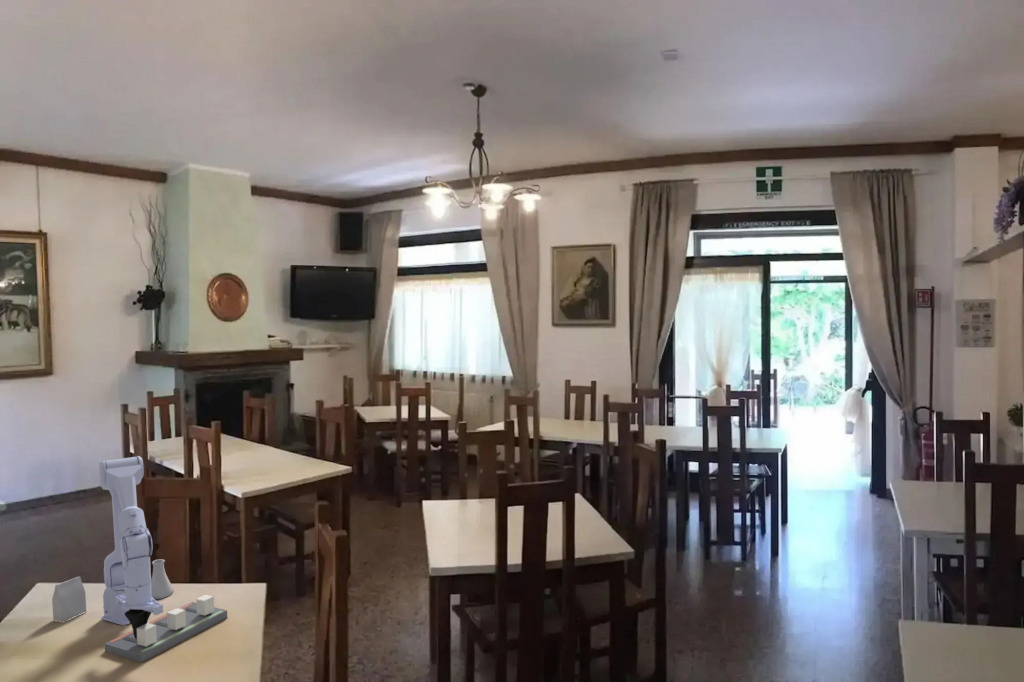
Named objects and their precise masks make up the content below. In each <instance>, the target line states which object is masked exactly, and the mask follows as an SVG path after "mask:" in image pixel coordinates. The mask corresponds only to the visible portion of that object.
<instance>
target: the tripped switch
mask: <svg viewBox="0 0 1024 682" xmlns="http://www.w3.org/2000/svg"><path fill="white" fill-rule="evenodd" d="M156 641H157V635H156V625H153V624H150V623H149V622H147V623H146V624H144V625H142V626H140V627H138V628H137V644H139V645H142V646H145V647H146V646H148V645H150V644H152V643H154V642H156Z"/></svg>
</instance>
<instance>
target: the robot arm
mask: <svg viewBox="0 0 1024 682" xmlns="http://www.w3.org/2000/svg"><path fill="white" fill-rule="evenodd" d="M144 470H145V469H144V460H143V458H142V457H141V456H140V455H136V456H132V457H123V458H118V459H117V458H116V459H115V458H114V459H108V460H101V462H99V480H100V481H99V482H100V487H101V489H102V490H107V491H109V493H110V495H111V504H112V505H111V507H112V520H113V521H112V522H113V523H112V524H113V535H114V536H113V537H114V550H113V551H112V552H111V553H109V554H108V555H107V556H106V557H105V558H104V561H103V566H104V567H103V579H104V580H103V581H104V585H105V587H106V588H105V589H104V591H103V595H102V598H103V599H102V600H103V601H102V602H103V616H101V617H100V619H101V620H102V621H106V622H110V623H114V624H118V625H121V626H126V625H128V624H130V625H131V628H132V630H133V633H134V637H135V639H137V628H138V627H140V626H142V625H144V624H146V623H148V620H149V618H150V617H151V615H152V613H153V616H158V615H160V614H162V613H163V612H164V605H163V604H162V603H161V602H160V603H159V601H157V599H154V598H152V591H151V578H152V574H151V572H152V571H151V556H152V554H153V538H152V535H151V532H150V531H149V528H147V523H146V518H145V513H144V510H143V509H142V508H140V507H138V499H137V485H140V484H141V482H142V479H143V478H144V474H145V473H144Z"/></svg>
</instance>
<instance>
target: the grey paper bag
mask: <svg viewBox="0 0 1024 682" xmlns="http://www.w3.org/2000/svg"><path fill="white" fill-rule="evenodd" d="M51 600H52V601H51V603H52V605H51V606H52V620H53V619H54V620H58V621H61V622H63V621H66V620H68V619H70V618H72V617H74V616H77V615H79V614H81V613H83V612H86V613H87V600H86V591H85V587H84V584H83V582H82V578H81V576H77V577H74V578H71V579H69V580H66V581H63V582H59V583H58V584H56V585H54V592H53V594H52V599H51ZM68 621H69V620H68ZM66 622H67V621H66Z"/></svg>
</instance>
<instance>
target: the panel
mask: <svg viewBox="0 0 1024 682" xmlns="http://www.w3.org/2000/svg"><path fill="white" fill-rule="evenodd" d="M179 609H183V610H185V613H186V625H185V626H183V627H181V628H179V629H177V630H173V629H170V628H168V622H167V613H166V614H164V615H162V616H160V617H158V618H156V619H154V620H152V621H149V622H148V623H150V624H153V625H156V635H157V641H156V642H154V643H152V644H150V645H148V646H146V647H145V646H142V645H139V644H137V639H135V637H134V633H133V629H132V630H131V631H128V632H126V633H124V634H122V635H120V636H118V637H116V638H113V639H111V640H110V641H107V642H105V643H104V652H105V653H108V652H109V654H111V653H112V654H111V655H114V654H115V656H117V655H118V656H117V657H121V658H125V659H127V658H128V660H130V659H131V660H132V661H133V662H138V663H140V662H142V663H144V662H145V660H146V661H147V659H148V658H149V659H151V658H153V657H155V656H157V655H159V654H161V653H163V652H164V650H165V651H166V649H167V650H169V649H170V648H172V647H174V646H176V645H177V644H180V643H182V642H184V641H185V639H186V640H188V639H189V638H191V637H194V636H195V635H197V634H199V633H201V632H203V631H204V629H205V630H206V629H208V627H209V628H210V627H212V626H215V625H216V624H218V623H220V622H222V621H224V620H226V619H228V610H226V609H223V608H219V607H215V606H214V611H213V612H211V613H209V614H207V615H201V614H197V603H196V601H195V602H194V601H192V602H189V603H188V604H186V605H184V606H182V607H180V608H179ZM225 618H226V619H225ZM183 640H184V641H183ZM162 651H163V652H162ZM160 652H161V653H160ZM158 653H159V654H158ZM156 654H157V655H156ZM154 655H155V656H154ZM152 656H153V657H152ZM150 657H151V658H150ZM149 659H148V660H149ZM131 660H130V661H131ZM143 661H144V662H143Z"/></svg>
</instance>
